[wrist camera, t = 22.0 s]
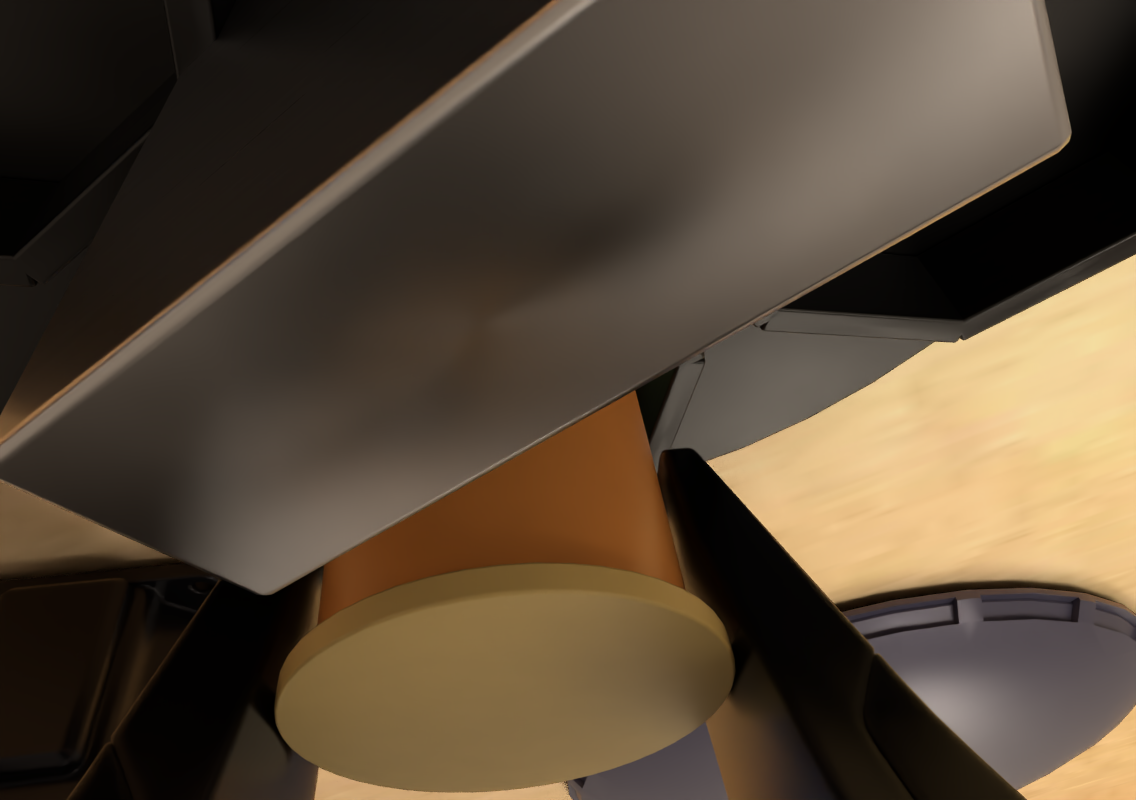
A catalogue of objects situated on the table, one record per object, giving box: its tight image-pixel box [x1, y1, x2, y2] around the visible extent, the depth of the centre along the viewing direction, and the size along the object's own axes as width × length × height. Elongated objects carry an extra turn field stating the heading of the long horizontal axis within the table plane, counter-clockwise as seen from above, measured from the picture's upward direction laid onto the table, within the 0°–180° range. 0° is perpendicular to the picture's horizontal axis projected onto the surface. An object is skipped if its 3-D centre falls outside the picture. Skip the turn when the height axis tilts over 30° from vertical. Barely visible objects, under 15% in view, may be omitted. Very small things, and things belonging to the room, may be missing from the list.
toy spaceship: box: [567, 588, 1136, 800], centre depth 33 cm, size 28×24×3 cm
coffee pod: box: [274, 391, 736, 792], centre depth 9 cm, size 5×5×4 cm
